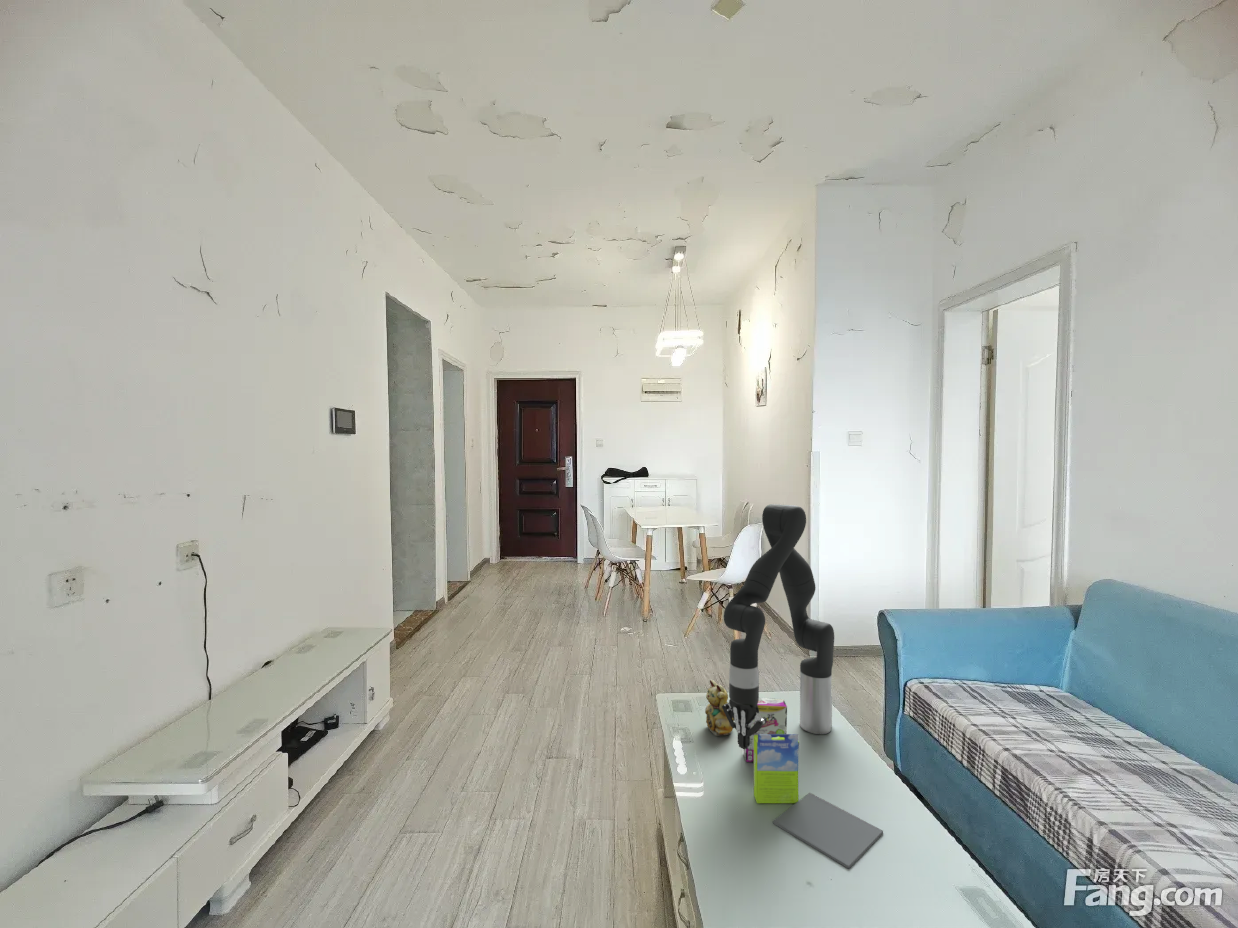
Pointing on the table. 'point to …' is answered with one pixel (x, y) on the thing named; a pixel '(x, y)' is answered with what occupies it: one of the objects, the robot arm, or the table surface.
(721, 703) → the decorative figurine
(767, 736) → the box
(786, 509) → the robot arm
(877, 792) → the table surface
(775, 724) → the candy bar box
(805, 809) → the mat
